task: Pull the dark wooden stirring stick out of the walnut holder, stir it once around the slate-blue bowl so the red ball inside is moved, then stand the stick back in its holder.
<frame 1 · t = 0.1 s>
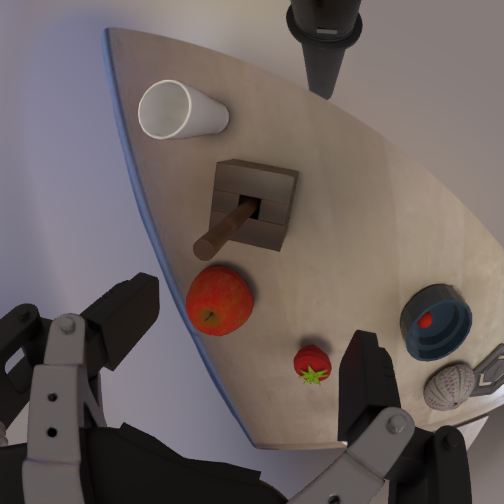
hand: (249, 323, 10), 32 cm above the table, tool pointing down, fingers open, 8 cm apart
ball: (424, 319, 40), point 2 cm above the table, touching bowl
sea urchin shell: (446, 379, 46), on the table
apple: (227, 287, 49), on the table
strawberry: (314, 345, 49), on the table
grey hexagonal plate: (495, 369, 42), on the table
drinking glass: (214, 118, 38), on the table
stirring stick: (240, 214, 31), in the holder
holder: (259, 197, 41), on the table
bowl: (431, 315, 41), on the table
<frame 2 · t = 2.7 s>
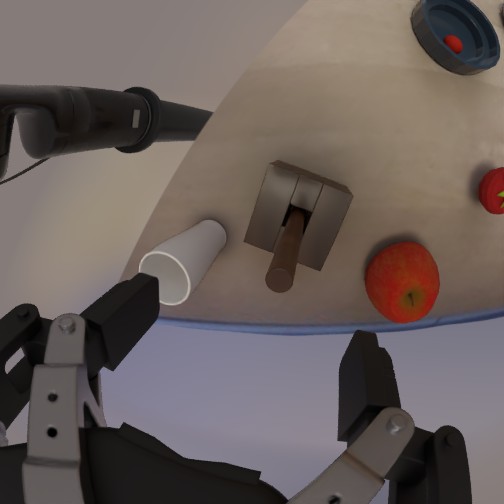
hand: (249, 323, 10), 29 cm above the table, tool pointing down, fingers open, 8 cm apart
ball: (453, 44, 21), point 2 cm above the table, touching bowl
apple: (395, 267, 37), on the table
strawberry: (480, 183, 29), on the table
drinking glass: (211, 234, 42), on the table
stirring stick: (293, 229, 27), in the holder
holder: (300, 206, 37), on the table
bowl: (449, 36, 21), on the table
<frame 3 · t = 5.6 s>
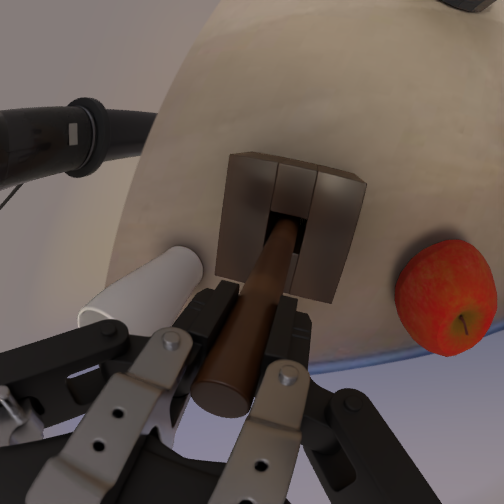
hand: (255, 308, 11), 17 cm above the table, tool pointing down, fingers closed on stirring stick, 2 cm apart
apple: (432, 275, 26), on the table
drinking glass: (184, 264, 32), on the table
stirring stick: (277, 253, 17), in the holder, touching gripper
holder: (293, 211, 27), on the table
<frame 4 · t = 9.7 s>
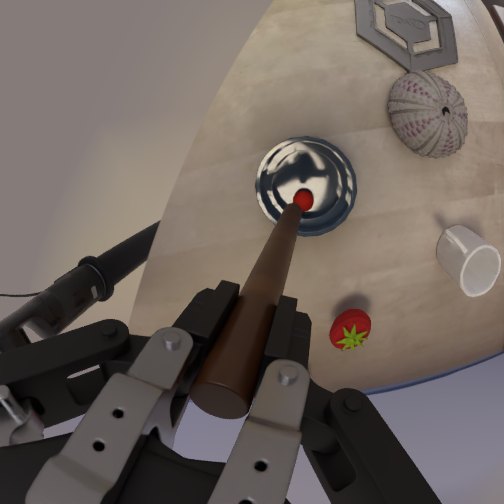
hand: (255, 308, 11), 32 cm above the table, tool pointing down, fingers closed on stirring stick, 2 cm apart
mug: (448, 240, 37), on the table
ball: (303, 201, 38), point 2 cm above the table, touching bowl
sea urchin shell: (423, 115, 31), on the table
strawberry: (347, 311, 46), on the table
grey hexagonal plate: (407, 23, 25), on the table
stirring stick: (277, 254, 17), point 26 cm above the table, touching gripper
bowl: (307, 182, 39), on the table
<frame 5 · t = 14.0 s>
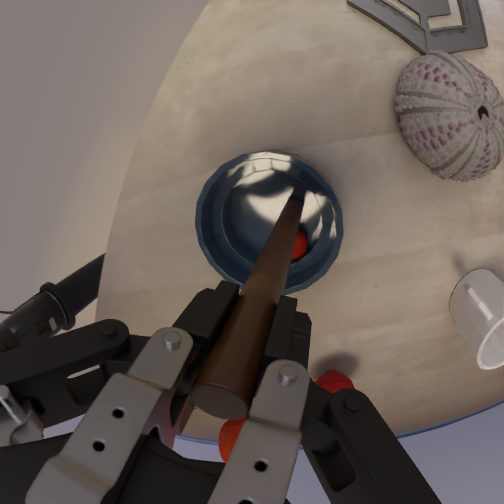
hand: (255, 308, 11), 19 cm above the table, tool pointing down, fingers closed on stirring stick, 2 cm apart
mug: (466, 287, 26), on the table
ball: (292, 243, 27), point 2 cm above the table, tilted 48°, touching bowl
sea urchin shell: (445, 117, 20), on the table
apple: (255, 420, 44), on the table
strawberry: (330, 369, 35), on the table
stirring stick: (277, 251, 17), point 13 cm above the table, touching gripper
bowl: (275, 213, 29), on the table
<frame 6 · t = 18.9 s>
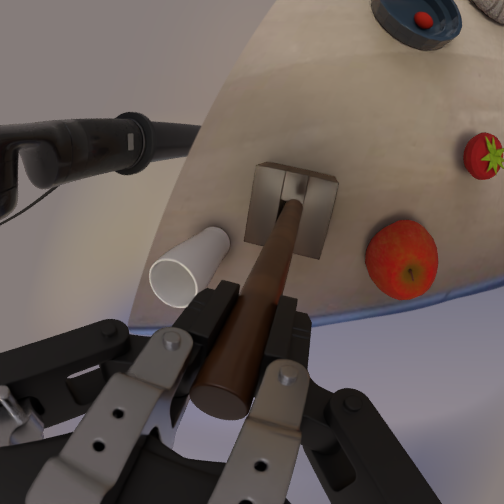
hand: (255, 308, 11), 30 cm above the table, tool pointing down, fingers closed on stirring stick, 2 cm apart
ball: (423, 20, 22), point 2 cm above the table, tilted 62°, touching bowl
apple: (395, 247, 38), on the table
strawberry: (466, 153, 30), on the table
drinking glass: (215, 240, 45), on the table
stirring stick: (277, 251, 17), point 24 cm above the table, touching gripper
holder: (294, 201, 39), on the table
bowl: (411, 15, 23), on the table
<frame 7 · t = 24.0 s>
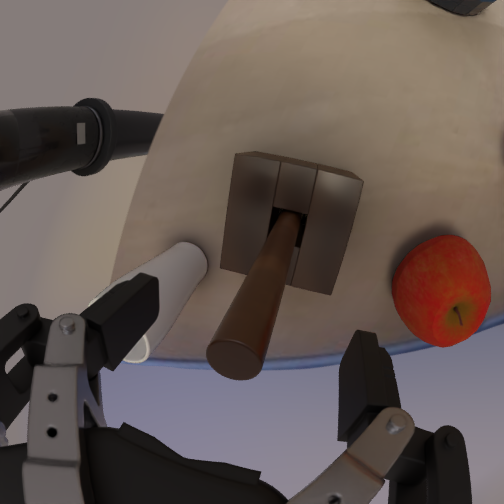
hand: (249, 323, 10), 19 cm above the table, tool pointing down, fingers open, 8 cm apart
apple: (428, 269, 27), on the table
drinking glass: (189, 260, 33), on the table
stirring stick: (281, 240, 18), in the holder
holder: (294, 208, 28), on the table
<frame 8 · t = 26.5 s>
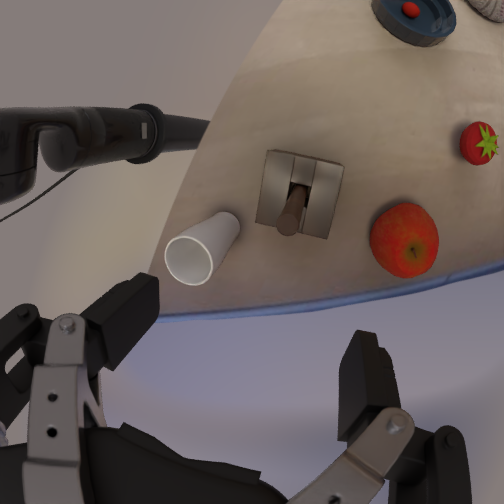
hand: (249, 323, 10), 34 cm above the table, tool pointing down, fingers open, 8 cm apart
ball: (411, 9, 23), point 2 cm above the table, tilted 113°, touching bowl
apple: (397, 231, 40), on the table
strawberry: (462, 142, 31), on the table
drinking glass: (226, 225, 46), on the table
stirring stick: (297, 198, 31), in the holder
holder: (301, 187, 41), on the table
bowl: (409, 14, 25), on the table
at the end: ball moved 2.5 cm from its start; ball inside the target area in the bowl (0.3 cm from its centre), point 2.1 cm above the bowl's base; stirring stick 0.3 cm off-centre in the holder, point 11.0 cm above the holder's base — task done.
